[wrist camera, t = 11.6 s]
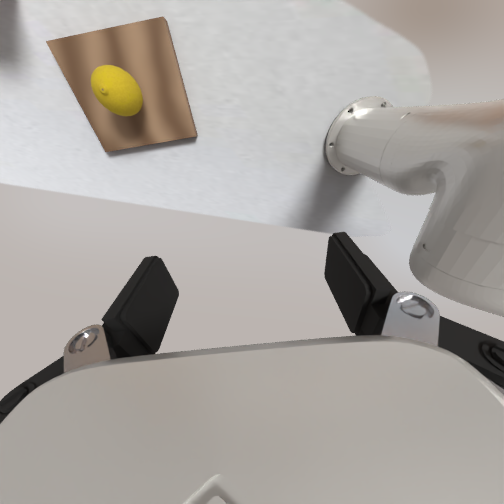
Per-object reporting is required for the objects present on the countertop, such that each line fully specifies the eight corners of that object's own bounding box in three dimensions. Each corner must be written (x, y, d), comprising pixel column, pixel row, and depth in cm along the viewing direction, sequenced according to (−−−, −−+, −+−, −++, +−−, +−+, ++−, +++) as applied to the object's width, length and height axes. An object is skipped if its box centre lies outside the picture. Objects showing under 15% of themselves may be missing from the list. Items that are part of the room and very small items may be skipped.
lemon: (131, 122, 32) (104, 124, 26) (104, 82, 29) (65, 73, 23) (158, 105, 31) (136, 103, 25) (133, 62, 28) (100, 47, 22)
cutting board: (166, 20, 27) (163, 16, 26) (197, 135, 35) (195, 136, 34) (54, 44, 28) (45, 41, 27) (110, 150, 36) (105, 152, 35)
